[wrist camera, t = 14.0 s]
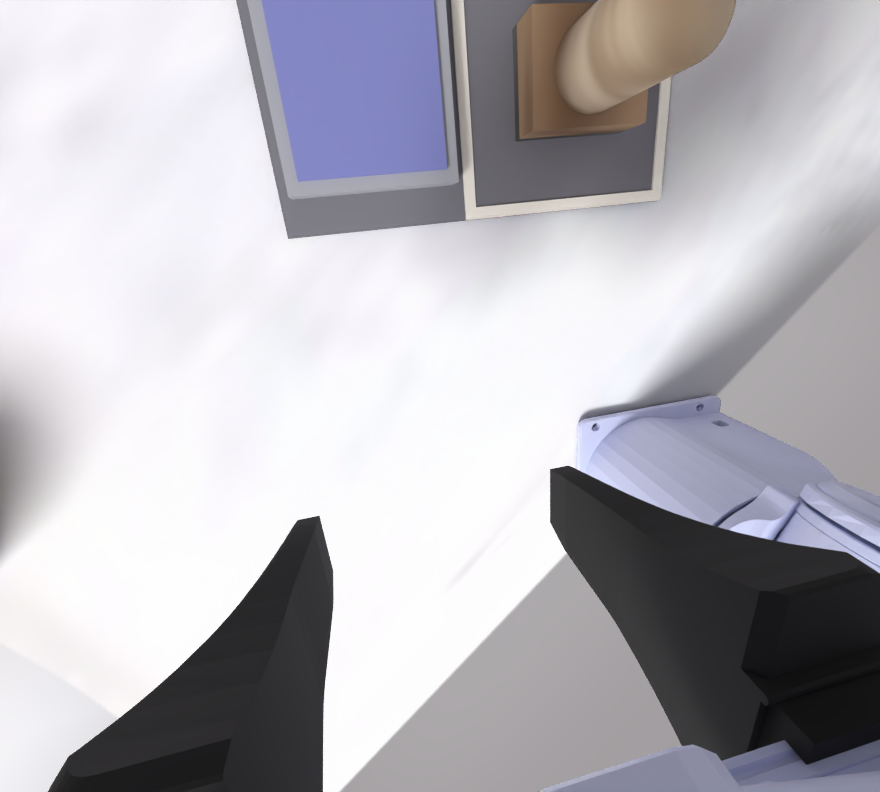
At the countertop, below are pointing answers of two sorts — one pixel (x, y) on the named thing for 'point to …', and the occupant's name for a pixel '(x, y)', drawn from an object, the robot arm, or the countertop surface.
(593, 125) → the stamp
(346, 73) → the stamp mat
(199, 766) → the robot arm
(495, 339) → the countertop surface
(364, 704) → the countertop surface
